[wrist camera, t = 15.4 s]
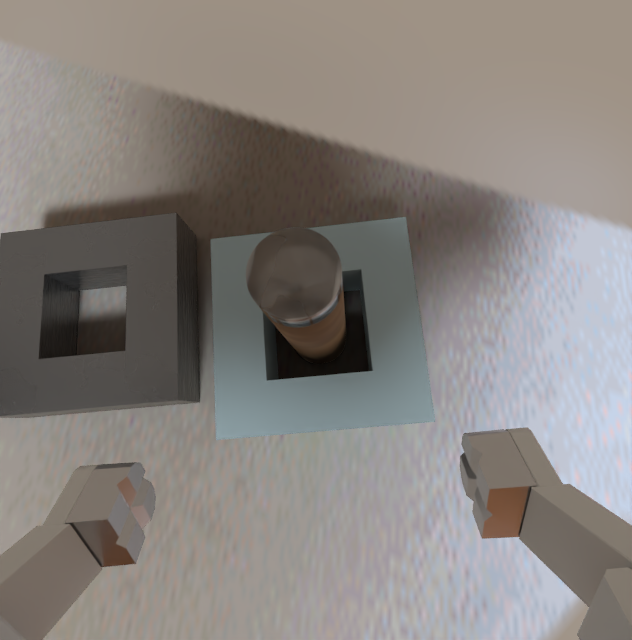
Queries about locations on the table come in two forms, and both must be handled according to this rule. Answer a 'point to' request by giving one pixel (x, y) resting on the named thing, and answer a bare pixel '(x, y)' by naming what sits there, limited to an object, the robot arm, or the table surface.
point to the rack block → (327, 390)
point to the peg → (301, 291)
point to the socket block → (62, 317)
